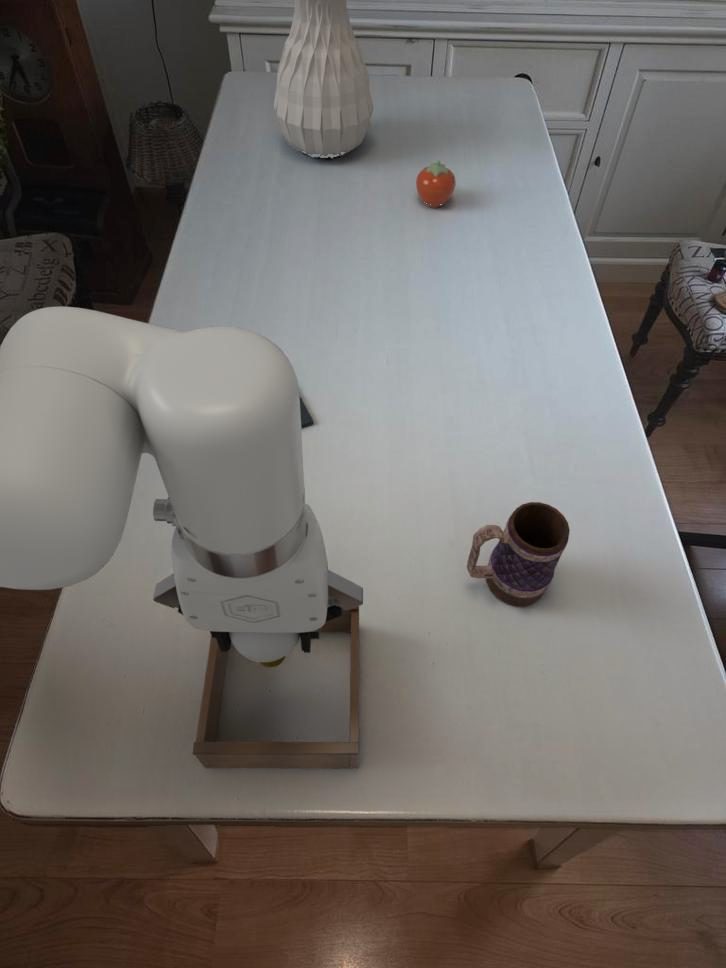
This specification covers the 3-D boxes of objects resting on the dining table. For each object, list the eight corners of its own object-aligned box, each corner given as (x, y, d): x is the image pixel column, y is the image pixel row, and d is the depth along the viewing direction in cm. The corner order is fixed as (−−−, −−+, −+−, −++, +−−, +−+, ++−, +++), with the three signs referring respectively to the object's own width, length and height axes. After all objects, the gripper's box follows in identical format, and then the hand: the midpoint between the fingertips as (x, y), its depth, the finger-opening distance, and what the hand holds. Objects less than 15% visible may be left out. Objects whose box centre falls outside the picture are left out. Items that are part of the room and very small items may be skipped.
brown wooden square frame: (204, 769, 60) (192, 753, 55) (224, 623, 69) (215, 598, 64) (357, 769, 60) (359, 753, 55) (358, 624, 69) (359, 599, 64)
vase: (295, 178, 125) (283, -6, 100) (264, 133, 135) (246, -43, 111) (387, 161, 130) (396, -19, 105) (350, 119, 140) (351, -53, 116)
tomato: (456, 211, 119) (463, 169, 112) (418, 214, 118) (422, 171, 112) (447, 191, 123) (453, 149, 117) (410, 193, 122) (414, 151, 116)
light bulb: (241, 695, 54) (226, 651, 46) (236, 631, 58) (220, 580, 50) (309, 682, 55) (306, 637, 47) (299, 620, 59) (295, 569, 51)
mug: (536, 550, 75) (564, 492, 65) (553, 605, 71) (586, 551, 61) (452, 558, 74) (468, 500, 64) (464, 613, 70) (483, 560, 60)
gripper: (83, 568, 36) (155, 678, 50) (387, 573, 36) (371, 680, 51) (114, 464, 40) (171, 593, 55) (384, 470, 41) (370, 596, 55)
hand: (267, 634), depth 52 cm, fingers closed on light bulb, 6 cm apart
